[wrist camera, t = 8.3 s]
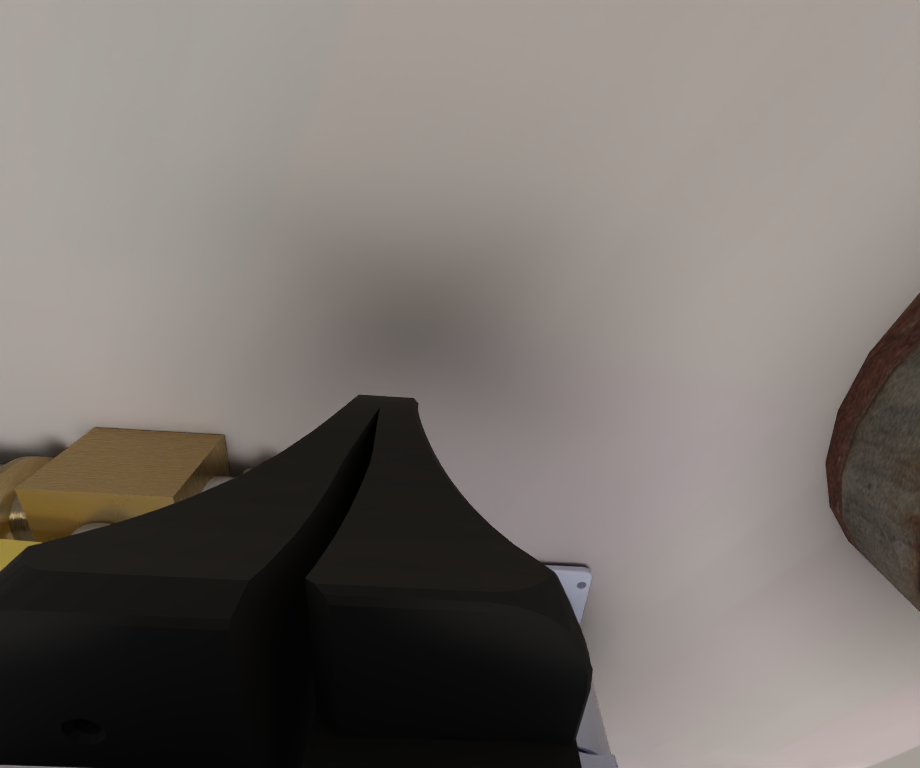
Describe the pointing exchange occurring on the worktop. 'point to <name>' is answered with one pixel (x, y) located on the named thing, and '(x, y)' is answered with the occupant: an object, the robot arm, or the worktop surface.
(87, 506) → the valve body
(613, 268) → the worktop surface
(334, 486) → the robot arm
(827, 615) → the worktop surface
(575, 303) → the worktop surface
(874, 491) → the barrel
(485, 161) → the worktop surface
